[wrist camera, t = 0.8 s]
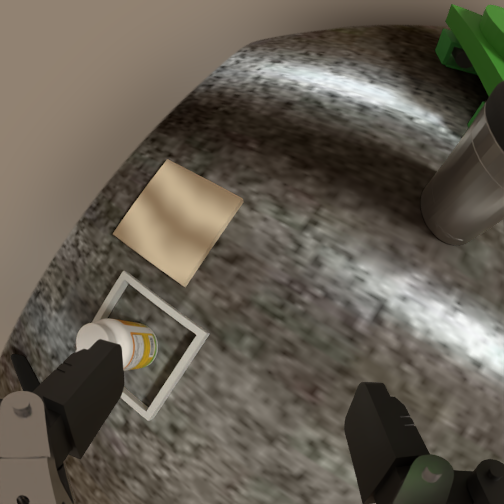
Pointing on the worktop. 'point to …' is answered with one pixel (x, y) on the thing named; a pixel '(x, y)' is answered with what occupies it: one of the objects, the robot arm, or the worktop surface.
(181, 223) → the pad
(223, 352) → the worktop surface
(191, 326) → the square frame
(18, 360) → the electric trimmer
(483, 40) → the tank
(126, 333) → the supplement bottle
